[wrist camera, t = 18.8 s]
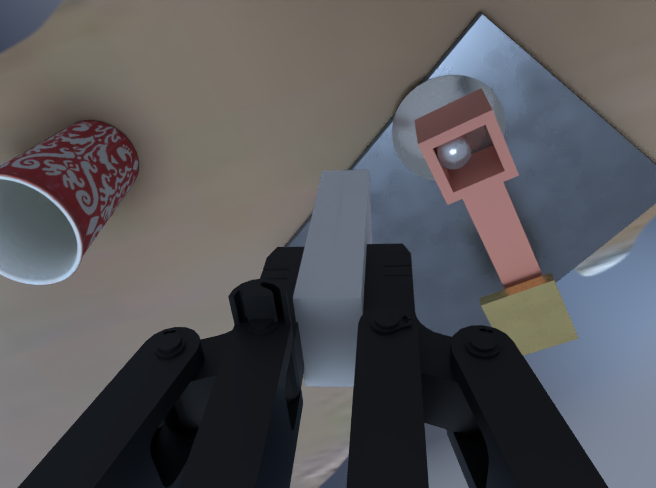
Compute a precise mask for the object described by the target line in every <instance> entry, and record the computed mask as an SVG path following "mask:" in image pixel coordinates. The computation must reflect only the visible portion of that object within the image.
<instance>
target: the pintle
mask: <svg viewBox="0 0 656 488" xmlns="http://www.w3.org/2000/svg"><path fill="white" fill-rule="evenodd" d="M436 151H437V156H438V160H439V162H440V164H441V165H442V166H444V167H445V168H448V169H458V168H461V167H463V166H464V165H465V164H466V163H467V162H468V161H469V159H470V156H471V149H470V146H469V143H468V140H467V138H466V135H465V134H464V135H462V136H459V137H457V138H455V139H453V140H451V141H448V142H446V143H444V144H442V145H440V146H438V147H436Z"/></svg>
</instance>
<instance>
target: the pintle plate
mask: <svg viewBox="0 0 656 488" xmlns="http://www.w3.org/2000/svg"><path fill="white" fill-rule="evenodd" d="M480 88H482V90H483V92H484V94H485V96H486V98H487V100H488V102H489V104H490V106H491V108H492V110H493V112H494V114H495V117H496V119H497V122H498V124H499V127H500V129H501V132H502V134H503V137H504V139H505V142H506V144H507V147H508V149H509V152H510V154H511V156H512V159H513V161H514V164H515V166H516V169H517V171H518V174H519V176H516V177H514V178H512V179H509V180H507V181H504V185H505V187H506V190H507V192H508V194H509V197H510V199H511V201H512V204H513V206H514V208H515V211H516V213H517V216H518V218H519V220H520V223H521V225H522V227H523V230H524V232H525V234H526V237H527V239H528V242H529V244H530V246H531V249H532V251H533V253H534V256H535V258H536V260H537V263H538V265H539V268H540V270H541V272H542V275H546V274H549V273H551V274H552V276H553V279H554V281H555V283H556V282H557V281H559V280H560V279H561V278H562V277H564V276H565V275H566V274H567V273H569V272H570V271H571V270H572V269H574V268H575V267H576V266H577V265H579V264H580V263H581V262H583V261H584V260H585V259H586V258H588V257H589V256H590V255H591V254H593V253H594V252H595V251H596V250H598V249H599V248H600V247H601V246H603V245H604V244H605V243H606V242H608V241H609V240H610V239H611V238H613V237H614V236H615V235H617V234H618V233H619V232H620V231H622V230H623V229H624V228H625V227H627V226H628V225H629V224H630V223H632V222H633V221H634V220H635V219H637V218H638V217H639V216H640V215H642V214H643V213H644V212H645V211H647V210H648V209H649V208H650V207H652V206H653V205H654V204H656V164H655V163H654V162H653V161H651V160H650V159H649V158H648V157H647V156H646V155H644V154H643V153H642V152H641V151H640V150H639V149H638V148H636V147H635V146H634V145H633V144H632V143H631V142H630V141H628V140H627V139H626V138H625V137H624V136H623V135H621V134H620V133H619V132H618V131H617V130H616V129H615V128H613V127H612V126H611V125H610V124H609V123H608V122H607V121H605V120H604V119H603V118H602V117H601V116H600V115H598V114H597V113H596V112H595V111H594V110H593V109H592V108H590V107H589V106H588V105H587V104H586V103H585V102H584V101H582V100H581V99H580V98H579V97H578V96H577V95H575V94H574V93H573V92H572V91H571V90H570V89H569V88H567V87H566V86H565V85H564V84H563V83H562V82H560V81H559V80H558V79H557V78H556V77H555V76H554V75H552V74H551V73H550V72H549V71H548V70H547V69H546V68H544V67H543V66H542V65H541V64H540V63H539V62H537V61H536V60H535V59H534V58H533V57H532V56H531V55H529V54H528V53H527V52H526V51H525V50H524V49H523V48H521V47H520V46H519V45H518V44H517V43H516V42H514V41H513V40H512V39H511V38H510V37H509V36H508V35H506V34H505V33H504V32H503V31H502V30H501V29H500V28H498V27H497V26H496V25H495V24H494V23H493V22H491V21H490V20H489V19H488V18H487V17H486V16H485V15H483V14H482V13H481V12H479V13H478V15H477V16H476V17H475V18H474V19H473V21H472V22H471V23H470V24H469V25H468V27H467V28H466V29H465V30H464V31H463V33H462V34H461V35H460V36H459V37H458V39H457V40H456V41H455V42H454V43H453V45H452V46H451V47H450V48H449V49H448V51H447V52H446V53H445V54H444V55H443V57H442V58H441V59H440V60H439V61H438V63H437V64H436V65H435V66H434V67H433V69H432V70H431V71H430V72H429V73H428V75H427V76H426V77H425V78H424V80H423V81H422V82H421V83H420V84H419V85H418V86H417V87H416V88H414V89H413V90H412V91H411V92H410V93H409V94H408V95H407V96H406V97H405V98H404V100H403V101H402V102H401V104H400V105H399V107H398V109H397V111H396V113H395V114H394V116H393V117H392V118H391V119H390V120H389V122H388V123H387V124H386V125H385V126H384V128H383V129H382V130H381V131H380V132H379V134H378V135H377V136H376V137H375V138H374V140H373V141H372V142H371V143H370V144H369V146H368V147H367V148H366V149H365V150H364V152H363V153H362V154H361V155H360V156H359V158H358V159H357V160H356V161H355V162H354V164H353V165H352V166H351V167H350V169H349V170H367V169H369V178H370V201H371V224H372V244H397V243H403V244H404V246H405V247H406V248H407V249H408V250H409V252H410V253H411V259H412V274H413V288H414V302H415V313H416V317H417V318H418V320H419V321H420V323H421V324H423V325H424V326H425V327H426V328H428V329H430V330H432V331H433V332H436V333H440V334H443V335H447V336H451V337H453V335H454V334H455V333H456V332H457V331H459V330H460V329H462V328H465V327H468V326H471V325H485V326H489V327H492V326H491V324H490V322H489V320H488V318H487V317H486V315H485V313H484V311H483V309H482V307H481V304H480V300H479V298H481V297H484V296H487V295H489V294H492V293H495V292H498V291H501V290H504V289H505V288H504V286H503V284H502V282H501V280H500V277H499V275H498V273H497V271H496V269H495V267H494V265H493V263H492V261H491V258H490V256H489V254H488V252H487V250H486V248H485V246H484V244H483V242H482V239H481V237H480V235H479V233H478V231H477V229H476V227H475V225H474V222H473V220H472V218H471V216H470V214H469V212H468V210H467V208H466V206H465V203H464V201H463V199H461V200H459V201H456V202H454V203H451V204H449V205H447V203H446V201H445V199H444V197H443V195H442V193H441V191H440V189H439V187H438V185H437V182H436V180H435V178H434V176H433V174H432V172H431V170H430V168H429V166H428V164H427V162H426V160H425V158H424V156H423V154H422V152H421V150H420V148H419V146H418V142H417V136H416V129H415V122H414V120H416V119H418V118H420V117H422V116H424V115H426V114H428V113H430V112H432V111H434V110H437V109H439V108H441V107H443V106H445V105H447V104H449V103H451V102H453V101H455V100H457V99H460V98H462V97H464V96H466V95H468V94H470V93H472V92H474V91H476V90H478V89H480ZM465 135H466V138H467V140H468V143H469V146H470V149H471V154H473V153H475V152H478V151H480V150H482V149H484V148H487V147H489V146H491V145H493V143H492V141H491V138H490V136H489V133H488V131H487V129H486V126H485V125H484V126H481V127H479V128H477V129H475V130H473V131H470V132H468V133H466V134H465ZM311 218H312V214H311V215H310V217H309V218H308V219H307V220H306V221H305V223H304V224H303V225H302V226H301V227H300V229H299V230H298V231H297V232H296V233H295V235H294V236H293V237H292V238H291V239H290V241H289V242H288V243H287V244H286V245H285V247H305V243H306V239H307V235H308V231H309V226H310V222H311Z"/></svg>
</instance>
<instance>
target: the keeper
mask: <svg viewBox="0 0 656 488" xmlns="http://www.w3.org/2000/svg"><path fill="white" fill-rule="evenodd" d="M479 300H480V304H481V307H482V309H483V311H484V313H485V315H486V317H487V318H488V320H489V322H490V324H491V326H492V327H494V328H496V329H498V330H500V331H502V332H504V333H506V334H507V335H508V336H509V337H510V338H511V339H512V340H513V341H514V343H515V344H516V346H517V347H518V349H519V351H520V352H521V354H522V355H526V354H529V353H533V352H536V351H539V350H542V349H546V348H549V347H552V346H555V345H558V344H562V343H565V342H568V341H571V340H575V339H578V336H577V334H576V331H575V329H574V326H573V324H572V322H571V319H570V317H569V314H568V312H567V310H566V307H565V305H564V302H563V300H562V298H561V295H560V293H559V291H558V288H557V286H556V283H555V281H554V279H553V276H552V274H551V273H549V274H546V275H543V276H540V277H538V278H535V279H532V280H529V281H526V282H523V283H521V284H518V285H515V286H512V287H509V288H506V289H504V290H501V291H498V292H495V293H492V294H489V295H487V296H484V297H481V298H479Z"/></svg>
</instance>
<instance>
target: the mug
mask: <svg viewBox="0 0 656 488" xmlns="http://www.w3.org/2000/svg"><path fill="white" fill-rule="evenodd" d="M138 169H139V163H138V158H137V154H136V151H135V149H134V147H133V146H132V144H131V143H130V141H129V140H128V139H127V138H126V137H125V135H123V134H122V133H121V132H120V131H118V130H117V129H115V128H114V127H112V126H110V125H108V124H106V123H103V122H98V121H93V120H92V121H90V120H87V121H81V122H77V123H74V124H72V125H70V126H69V127H67V128H65V129H63V130H62V131H60V132H59V133H57V134H55V135H53V136H52V137H50V138H48V139H46V140H45V141H43V142H41V143H40V144H38V145H36V146H35V147H33V148H31V149H29V150H28V151H26V152H24V153H23V154H21V155H19V156H17V157H15V158H13V159H12V160H10V161H8V162H6V163H4V164H3V165H1V166H0V274H1V275H3V276H5V277H7V278H9V279H12V280H15V281H18V282H22V283H27V284H34V285H47V284H53V283H57V282H60V281H63V280H65V279H66V278H68V277H70V276H71V275H72V274H73V273H74V272H75V271H76V269H77V268H78V266H79V265H80V263H81V260H82V256H83V255H84V253H85V252H86V250H87V249H88V248H89V246H90V245H91V244H92V242H93V241H94V239H95V238H96V237H97V235H98V233H99V232H100V230H101V229H102V228H103V226H104V225H105V223H106V222H107V221H108V219H109V218H110V217H111V215H112V214H113V212H114V211H115V209H116V208H117V206H118V205H119V203H120V202H121V200H122V199H123V198H124V196H125V195H126V193H127V192H128V191H129V189H130V188H131V186H132V185H133V183H134V182H135V180H136V177H137V174H138Z"/></svg>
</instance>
